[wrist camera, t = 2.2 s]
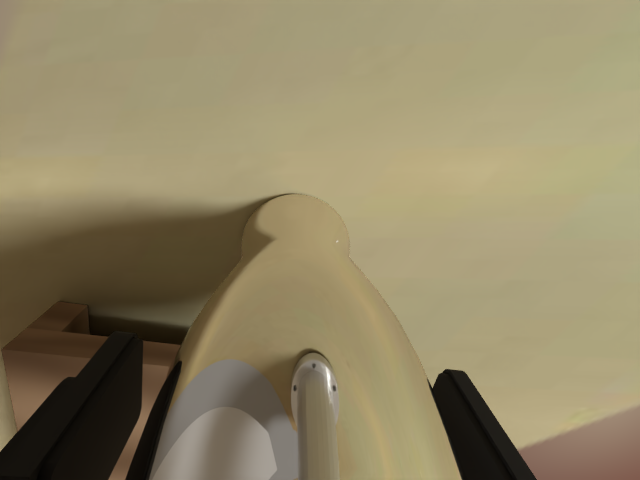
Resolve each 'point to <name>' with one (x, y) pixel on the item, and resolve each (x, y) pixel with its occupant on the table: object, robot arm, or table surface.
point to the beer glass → (296, 371)
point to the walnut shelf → (73, 367)
